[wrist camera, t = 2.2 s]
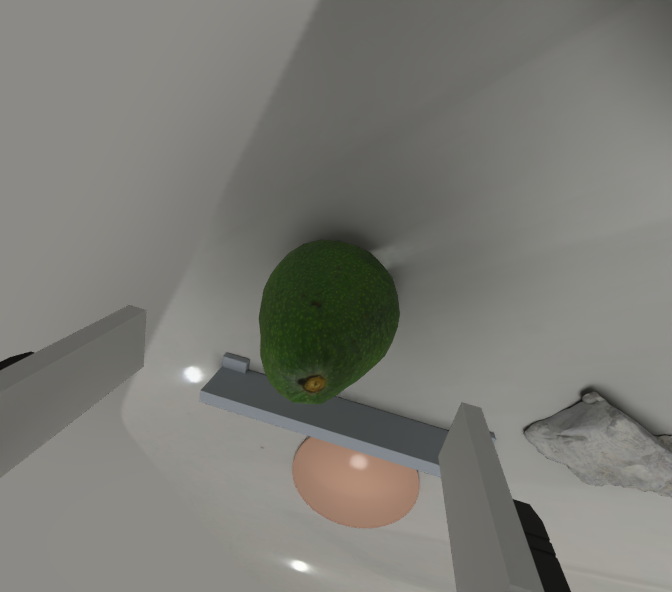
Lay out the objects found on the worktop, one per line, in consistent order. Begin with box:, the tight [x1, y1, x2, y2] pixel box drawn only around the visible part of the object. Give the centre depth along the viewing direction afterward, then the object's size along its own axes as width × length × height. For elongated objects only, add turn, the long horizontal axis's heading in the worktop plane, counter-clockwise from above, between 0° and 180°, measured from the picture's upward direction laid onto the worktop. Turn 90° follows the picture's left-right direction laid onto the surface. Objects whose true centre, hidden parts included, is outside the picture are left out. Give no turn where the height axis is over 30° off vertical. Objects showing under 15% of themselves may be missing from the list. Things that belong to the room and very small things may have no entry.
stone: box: [524, 392, 672, 497], centre depth 25 cm, size 6×12×4 cm, turn 63°
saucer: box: [293, 436, 419, 528], centre depth 32 cm, size 11×11×1 cm
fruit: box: [259, 240, 400, 405], centre depth 21 cm, size 8×8×12 cm
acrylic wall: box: [199, 353, 496, 478], centre depth 28 cm, size 3×22×4 cm, turn 77°
